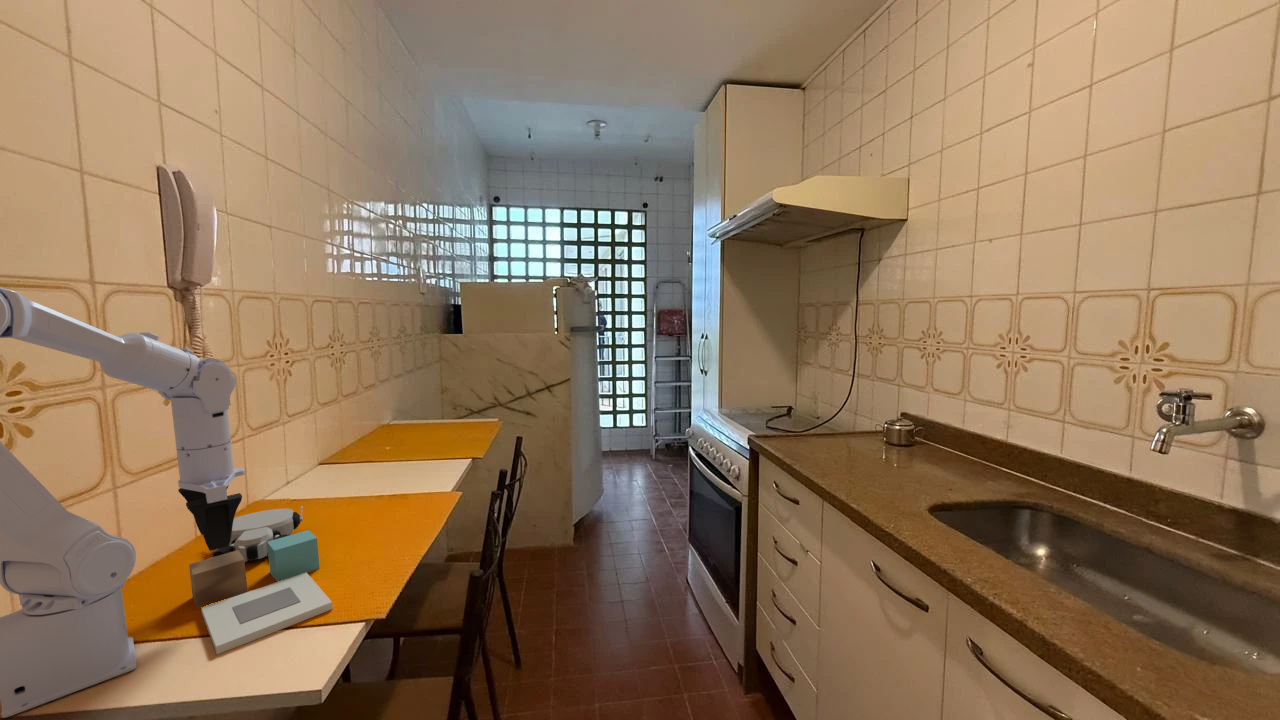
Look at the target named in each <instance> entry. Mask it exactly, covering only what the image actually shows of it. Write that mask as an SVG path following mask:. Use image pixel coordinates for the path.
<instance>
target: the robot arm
mask: <svg viewBox="0 0 1280 720" xmlns="http://www.w3.org/2000/svg"><path fill="white" fill-rule="evenodd" d="M8 338H9V339H13V340H14V339H15V340H18V341H21V342H25V343H28V344H33V345H36V346H38V347H39V346H40V347H44V348H47V349H49V350H50V349H51V350H54V351H58V352H63V353H65V354H68V355H72V356H77V357H80V358H85V359H86V360H87V359H88V360H90V361H91V360H92V361H96V362H98V363H99V365H100V366H99V367H100V369H101V370H102V372H103V374H104V375H106V376H107V377H110V378H113V379H117V380H120V381H124V382H127V383H130V384H133V385H137V386H140V387H144V388H147V389H151V390H154V391H156V392H157V393H158V394H159V395H160V396H161V397H162V398H163V399H165V400H170V405H171V406H170V407H171V414H172V423H173V430H174V438H175V439H174V440H175V448H176V456H177V466H178V474H179V480H178V482H177V484H178V490H177V491H178V493H179V494H180V495H181V496H182V497H183V498H184V499H185V501H186V502H185V506H186V508H187V510H188V511H189V512H190V513H191V514H192V515H193V518H194V520H195V524H196V526H197V528H198V531H199V533H200V535H201V536H203V539H204V542H205V545H206V546H207V549H208V550H209V551H210V552H212V551H216V550H218V549H220V548H223V547H227V546H229V544H230V540H231V534H232V526H233V520H234V518H235V515H236V513H237V510H238V508H239V506H240V504H241V502H242V500H243V499H242V498H243V495H242V493H241V492H239V493H234V494H229V495H228V493H227V491H228V488H229V486H230V484H231V483H232V482H233V481H234V479H236V478H237V477H241V476H244V475H245V474H246V472H245V469H244V468H242V467H238V468H234V459H233V451H232V441H231V430H230V429H231V428H230V423H229V422H230V421H229V412H228V410H229V409H230V406H231V405H232V404H231V395H232V393H233V391H234V389H235V387H236V384H237V376H236V375H233V371H232V370H231V368H230V367H229V366H228V365H227V364H226V363H225V362H224V361H222V360H220V359H217V358H213V357H211V358H199V357H198V356H197V355H195V354H194V353H195V351H193V350H192V349H189V348H179V347H175V346H172V345H169V344H167V343H165V342H162V341H159V338H160V336H159V335H158V334H155V333H153V332H149V331H148V332H139V333H137V332H128V333H124V334H122V335H115V334H112V333H110V332H107V331H105V330H103V329H100V328H97V327H95V326H93V325H91V324H89V323H86V322H83V321H81V320H79V319H77V318H74V317H72V316H68V315H67V314H64V313H61V312H59V311H57V310H55V309H52V308H51V307H47V306H45V305H42V304H41V303H38V302H35V301H33V300H30V299H29V298H27V297H26V296H24V295H22V294H21V293H19V292H18V291H15V290H12V289H8V288H3V287H0V339H8ZM136 559H137V552H136V549H135V546H134V545H133V543H131V541H130V540H128V539H126V538H124V537H122V536H116V535H113V534H110V533H108V532H106V530H104V529H103V528H102V526H100V525H99V524H98V523H95V522H93V521H91V520H89V519H87V518H84V517H82V516H79V515H77V514H74V512H73V513H72V512H70V511H69V510H67V509H66V508H65V507H64V505H63V504H62V503H61V502H60V501H58V500H57V498H56V497H55V496H54V495H53V494H52V493H51V492H50V491H49V490H48V489H47V488H46V486H44V485H43V484H42V483H41V481H39V480H38V479H37V477H36V476H34V474H32V473H31V471H30V470H28V469H27V468H26V466H25V465H24V464H23V463H22V462H21V461H20V459H18V458H17V456H15V455H14V454H13V453H12V452H11V451H10V449H8V448H7V447H6V446H5V445H4V443H2V441H0V585H1V587H2V588H3V589H4V590H5V591H6V592H9V593H11V594H15V595H18V597H19V598H18V599H19V605H20V606H21V609H19V610H17V611H14V612H11V613H9V614H6V615H3V616H0V705H1V713H0V714H1V718H3V719H4V718H8V717H9V718H10V717H11V716H14V715H17V714H20V713H22V712H25V711H28V710H30V709H33V708H37V707H38V706H41V705H44V704H46V703H48V702H52V701H55V700H57V699H60V698H62V697H65V696H68V695H71V694H72V693H76V692H77V691H81V690H83V689H86V688H89V687H91V686H94V685H97V684H99V683H101V682H105V681H107V680H110V679H113V678H115V677H118V676H120V675H122V674H126V673H128V672H131V671H134V670H135V669H136V668H137V659H136V652H135V651H136V650H135V645H134V637H132V636H129V635H128V630H127V628H128V627H127V622H126V621H127V620H126V613H125V606H124V597H123V591H122V589H123V588H125V587H126V585H125V582H126V581H127V579H128V578H129V577H130V576H131V574H132V571H133V570H134V568H135V565H136V561H137V560H136Z"/></svg>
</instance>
